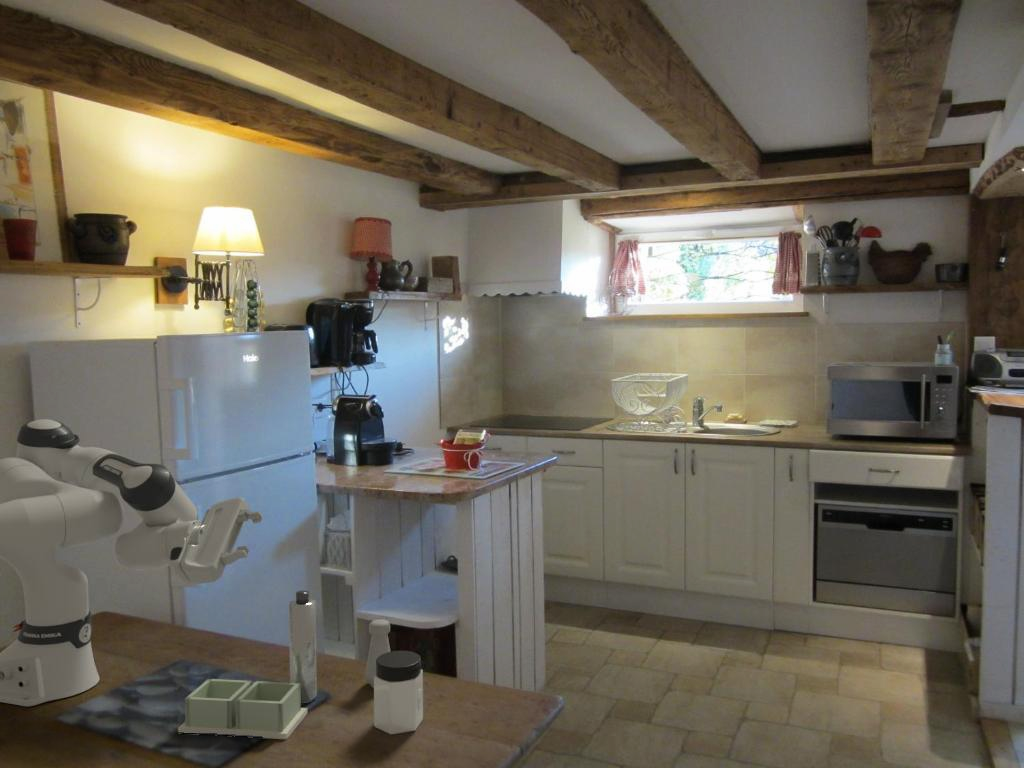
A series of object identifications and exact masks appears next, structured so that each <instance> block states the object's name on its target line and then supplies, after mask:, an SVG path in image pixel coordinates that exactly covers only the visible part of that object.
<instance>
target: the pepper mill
mask: <svg viewBox="0 0 1024 768" xmlns="http://www.w3.org/2000/svg"><path fill="white" fill-rule="evenodd" d="M316 603H317V601H316V600H315V599H313V598H310V591H309V590H298V591H296V592H295V599H294V600H291V601H289V602H288V617H289V619H288V621H289V623H288V625H289V628H288V629H289V683H300V686H301V702H304V701H305V702H306V701H309V700H312V699H313V698H315V697H316V696H317V695H318V687H317V686H318V685H317V682H318V679H317V676H318V674H317V672H318V671H317V670H318V669H317V664H318V663H317V604H316ZM317 697H318V696H317Z"/></svg>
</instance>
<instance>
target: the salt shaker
mask: <svg viewBox="0 0 1024 768" xmlns="http://www.w3.org/2000/svg"><path fill="white" fill-rule="evenodd" d="M368 631H369V634H370V635H371V636H370V637H371V638H370V645H369V649H368V655H367V661H366V667H365V672H364V673H365V679H366V680H367V681H368V684H369V685H370V687H371V688H372V689H374V676H375V675H376V659H377V658H378V657H379V656H380V655H382V654H384V653H387V652H391V647H390V642H389V641H390V640H389V636H388V634H390V632H391V624H390V621H388V620H386V619H383V618H382V619H379V618H378V619H374V620H372V621H371V622H370V623H369V624H368Z"/></svg>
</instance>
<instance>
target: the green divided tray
mask: <svg viewBox="0 0 1024 768" xmlns="http://www.w3.org/2000/svg"><path fill="white" fill-rule="evenodd" d="M301 705H302V704H301V686H300V683H290V682H286V681H285V682H284V681H279V682H278V681H265V680H264V681H260V680H256V681H255V682H253V680H244V679H243V680H242V679H241V680H239V679H222V678H221V679H220V678H208V679H206V680H205V681H204V682H203V683H201V685H199V686H197V688H196V689H194V690H193V691H192V692H191V693H190V694H188V695H187V696H186V697H185V698H184V717H185V718H184V721H183V723H181V724H180V725H179V726H178V727H177V733H178V732H184V733H217V734H229V735H230V734H236V735H250V736H251V735H252V736H262V737H263V738H262V739H271V740H272V739H277V740H287V739H289V737H291V735H292V733H294V731H295V730H296V729H297V727H298V726H299V724H301V722H302V721H303V720H304V718H305V717H306V715H308V707H301Z"/></svg>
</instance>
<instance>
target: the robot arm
mask: <svg viewBox="0 0 1024 768" xmlns="http://www.w3.org/2000/svg"><path fill="white" fill-rule="evenodd" d="M80 439H81V438H80V436H79V435H77V434H74V432H73V431H72V430H71V428H69V427H68V426H67V425H65V423H63V422H61V421H58V420H54V419H49V418H48V419H47V418H45V419H43V418H42V419H35V420H30V421H27V422H26V423H25V424H23V425H22V426H21V427H20V429H19V431H18V434H17V439H16V441H17V447H16V454H15V455H16V456H9V457H3V458H0V559H1V560H3V561H5V562H6V563H7V564H8V565H9V566H11V568H12V569H14V571H15V573H16V574H17V575H18V578H19V580H20V583H21V586H22V590H23V591H22V592H23V597H24V609H25V619H24V620H22V621H21V622H20V623H18V624H16V625H15V626H12V629H14V630H13V631H12V633H16V632H18V631H19V630H20V631H19V634H18V635H17V639H16V640H14V641H13V642H11V644H9V645H8V646H6V648H5V649H3V650H2V651H1V652H0V703H5V704H11V705H14V706H15V705H17V706H21V707H33V706H36V705H40V704H43V703H46V702H50V701H55V700H56V701H57V700H60V699H64V698H65V699H66V698H68V697H72V696H76V695H78V694H82V693H83V692H85V691H88V690H90V689H91V688H93V687H94V686H96V685H97V684H98V683H99V681H100V675H99V673H98V669H97V667H96V664H95V660H94V658H95V657H94V653H93V649H92V632H93V630H92V628H93V627H92V626H93V625H92V624H93V623H92V622H93V621H92V613H91V611H90V610H89V580H88V577H87V575H86V573H85V572H84V571H83V570H81V569H80V568H79V567H76V566H73V565H69V564H66V563H62V562H58V558H57V550H58V551H59V550H63V549H68V548H73V547H74V548H75V547H78V546H84V545H85V546H86V545H92V544H95V543H97V542H101V541H104V540H105V539H108V538H110V537H111V538H112V537H113V536H115V535H117V533H118V532H119V531H120V529H121V527H122V525H123V522H124V517H125V511H124V506H123V504H122V503H123V502H125V503H127V504H128V506H129V507H131V508H132V509H133V510H134V512H136V514H138V516H139V517H140V518H141V519H142V520H141V521H140V522H139V524H137V525H136V526H135V527H134V528H133V529H131V530H129V531H128V532H124V533H122V534H120V535H119V536H118V537H117V538H116V539H115V545H114V546H115V547H114V548H115V549H114V550H115V555H116V557H117V560H118V562H119V563H120V564H121V565H122V566H123V567H124V568H125V569H127V570H131V571H154V570H160V569H164V568H167V567H170V570H171V571H172V572H173V574H174V575H175V577H176V578H177V579H178V580H179V581H180V583H182V584H183V586H184V585H190V584H191V583H192V584H197V585H198V584H199V585H200V584H208V583H214V582H217V581H218V580H220V579H221V578H222V576H223V575H224V574H223V573H224V570H225V569H226V567H227V565H231V564H233V563H234V562H236V561H238V560H239V559H244V558H247V556H248V554H249V551H250V550H249V548H248V547H247V546H246V545H243V546H237V548H236V549H235V550H233V549H234V548H235V545H236V542H237V540H238V538H239V535H240V533H241V531H242V528H243V526H244V523H245V522H248V521H249V520H251V521H252V523H253V524H257V523H259V524H260V523H261V522H262V519H263V517H264V516H263V514H262V513H261V511H251V510H250V507H249V505H248V503H247V502H246V500H245V499H244V498H243V497H241V496H239V497H233V498H229V499H225V500H222V501H219V502H216V503H214V504H213V505H212V506H210V508H208V509H207V510H206V511H205V513H204V516H203V518H202V519H198V518H199V511H198V508H197V507H196V506H195V504H194V503H193V501H192V499H190V497H189V496H188V495H187V493H185V491H184V490H183V488H181V486H180V485H179V484H178V483H177V481H176V480H175V478H174V477H173V476H172V474H171V472H170V471H169V470H168V468H167V467H166V466H165V465H162V464H159V463H144V462H143V463H142V462H137V461H135V460H133V459H130V458H127V457H126V456H125V457H124V456H122V455H120V454H118V453H116V452H114V451H112V450H110V449H109V450H108V449H105V448H101V447H96V446H79V445H78V443H79V442H80ZM69 482H72V483H74V484H75V485H74V484H70V483H69Z"/></svg>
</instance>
